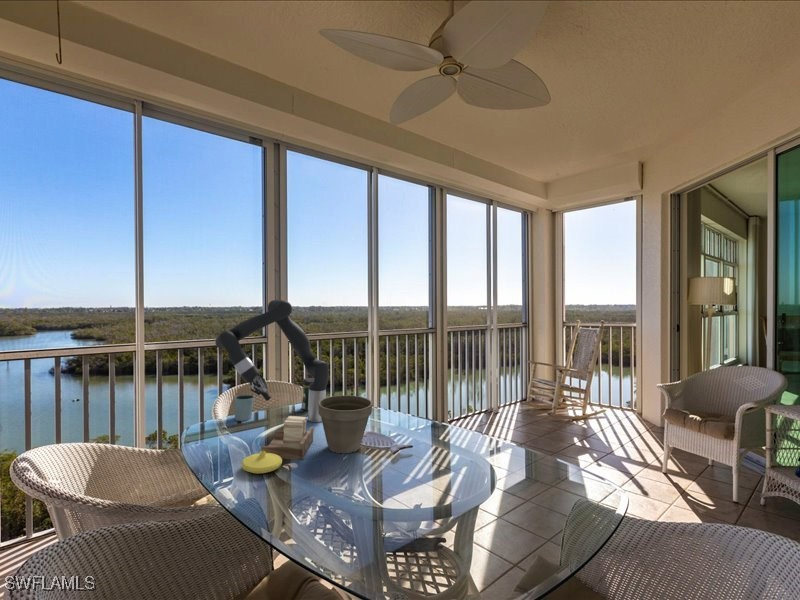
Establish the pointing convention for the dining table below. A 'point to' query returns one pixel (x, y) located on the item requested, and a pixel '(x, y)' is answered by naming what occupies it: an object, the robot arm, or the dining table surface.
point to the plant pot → (344, 421)
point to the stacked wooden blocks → (294, 431)
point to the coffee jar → (306, 392)
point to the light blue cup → (243, 407)
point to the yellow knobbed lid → (261, 462)
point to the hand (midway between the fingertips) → (269, 399)
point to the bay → (289, 452)
